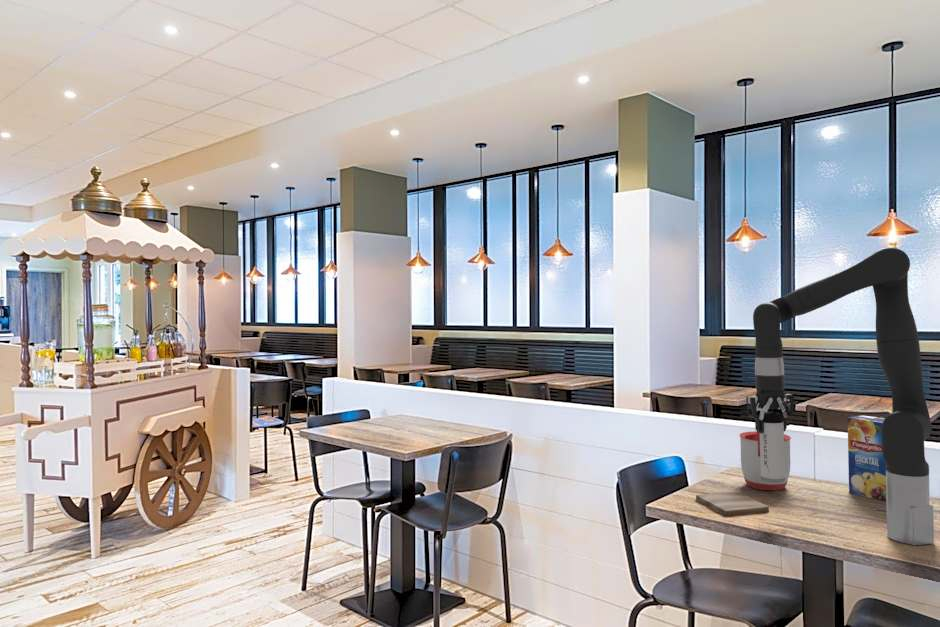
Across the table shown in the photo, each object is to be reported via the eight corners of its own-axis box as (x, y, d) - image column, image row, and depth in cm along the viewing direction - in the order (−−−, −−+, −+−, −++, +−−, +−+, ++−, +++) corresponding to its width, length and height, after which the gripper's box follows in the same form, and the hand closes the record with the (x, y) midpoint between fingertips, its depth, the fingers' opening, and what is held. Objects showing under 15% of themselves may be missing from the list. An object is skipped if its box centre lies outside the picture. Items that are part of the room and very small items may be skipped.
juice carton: (901, 498, 198) (900, 420, 198) (886, 502, 195) (885, 423, 195) (863, 488, 209) (862, 415, 209) (848, 492, 206) (847, 417, 206)
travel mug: (779, 476, 186) (777, 407, 185) (788, 483, 179) (786, 411, 179) (757, 476, 186) (755, 408, 186) (765, 483, 180) (763, 411, 179)
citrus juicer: (743, 493, 208) (742, 431, 208) (738, 478, 224) (736, 421, 224) (797, 496, 203) (795, 433, 203) (787, 481, 220) (786, 423, 220)
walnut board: (768, 511, 189) (768, 506, 189) (725, 516, 187) (725, 510, 187) (736, 496, 205) (736, 491, 205) (696, 499, 202) (696, 495, 202)
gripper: (755, 375, 177) (756, 436, 177) (801, 373, 180) (802, 432, 180) (738, 373, 185) (740, 431, 185) (783, 370, 187) (784, 427, 188)
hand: (771, 431), depth 182 cm, fingers closed on travel mug, 6 cm apart
